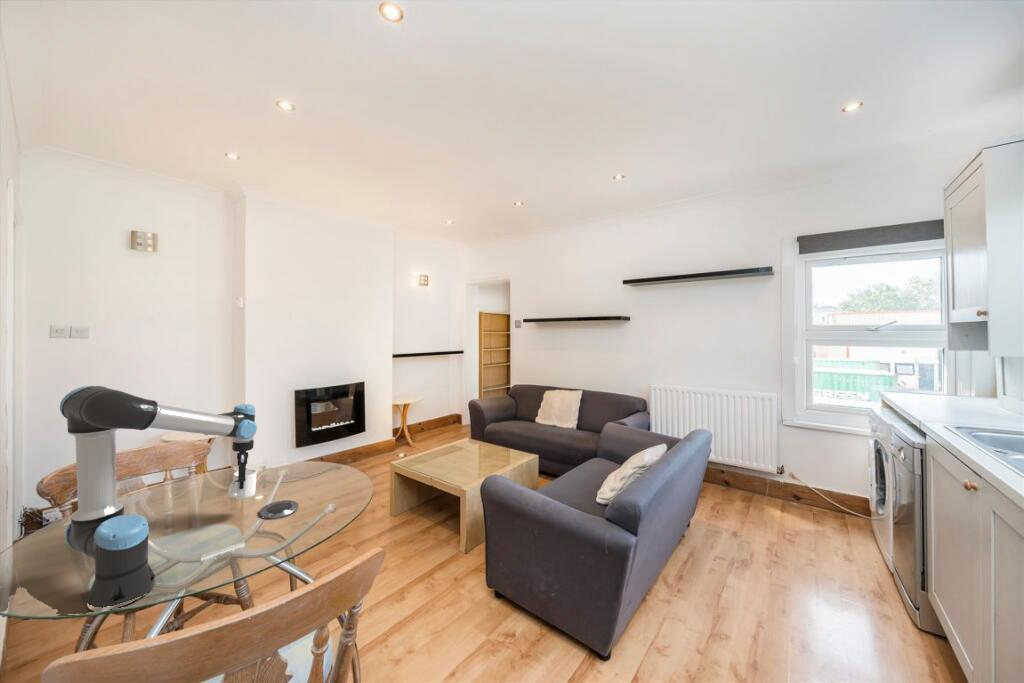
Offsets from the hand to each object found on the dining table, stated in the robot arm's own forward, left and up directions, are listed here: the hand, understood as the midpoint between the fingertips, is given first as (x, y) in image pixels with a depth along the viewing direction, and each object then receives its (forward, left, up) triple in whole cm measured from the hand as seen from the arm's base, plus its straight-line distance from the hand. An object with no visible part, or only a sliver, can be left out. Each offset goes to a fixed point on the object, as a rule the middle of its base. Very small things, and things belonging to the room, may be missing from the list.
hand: (241, 491), depth 165 cm
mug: (-1, 0, -3) cm, 3 cm away
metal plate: (+10, -11, -12) cm, 19 cm away
